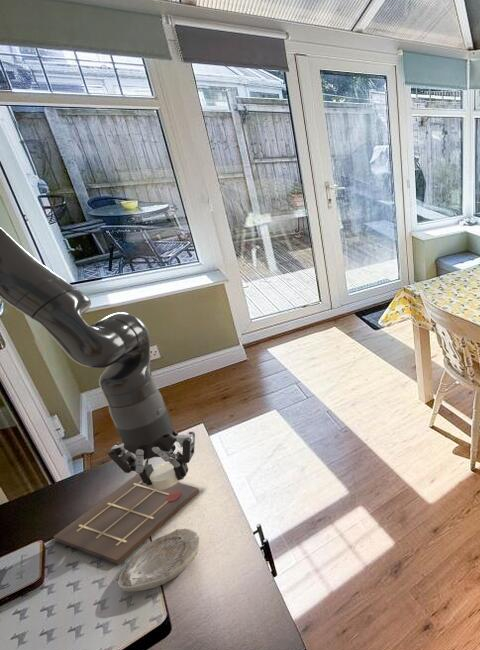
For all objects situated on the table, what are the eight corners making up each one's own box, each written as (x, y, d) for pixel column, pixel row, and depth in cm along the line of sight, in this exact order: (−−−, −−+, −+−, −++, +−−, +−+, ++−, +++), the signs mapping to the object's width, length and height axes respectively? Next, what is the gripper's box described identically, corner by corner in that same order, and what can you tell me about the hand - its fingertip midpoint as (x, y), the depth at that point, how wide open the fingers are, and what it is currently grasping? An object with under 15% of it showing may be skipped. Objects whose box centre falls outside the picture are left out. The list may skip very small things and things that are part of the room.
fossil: (129, 561, 76) (123, 551, 75) (204, 529, 82) (200, 519, 81) (117, 613, 68) (110, 602, 67) (201, 573, 73) (196, 562, 72)
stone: (147, 486, 83) (143, 478, 82) (170, 468, 88) (166, 460, 87) (165, 492, 82) (161, 483, 81) (188, 473, 86) (184, 465, 86)
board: (55, 541, 78) (52, 536, 78) (142, 474, 93) (141, 470, 92) (119, 564, 75) (116, 559, 74) (199, 492, 89) (198, 487, 89)
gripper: (192, 396, 83) (213, 458, 90) (106, 407, 79) (135, 471, 86) (176, 421, 76) (200, 487, 83) (81, 434, 73) (115, 502, 80)
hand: (167, 478), depth 85 cm, fingers closed on stone, 4 cm apart
